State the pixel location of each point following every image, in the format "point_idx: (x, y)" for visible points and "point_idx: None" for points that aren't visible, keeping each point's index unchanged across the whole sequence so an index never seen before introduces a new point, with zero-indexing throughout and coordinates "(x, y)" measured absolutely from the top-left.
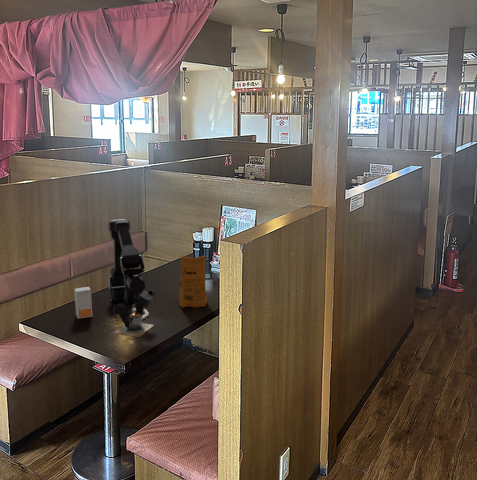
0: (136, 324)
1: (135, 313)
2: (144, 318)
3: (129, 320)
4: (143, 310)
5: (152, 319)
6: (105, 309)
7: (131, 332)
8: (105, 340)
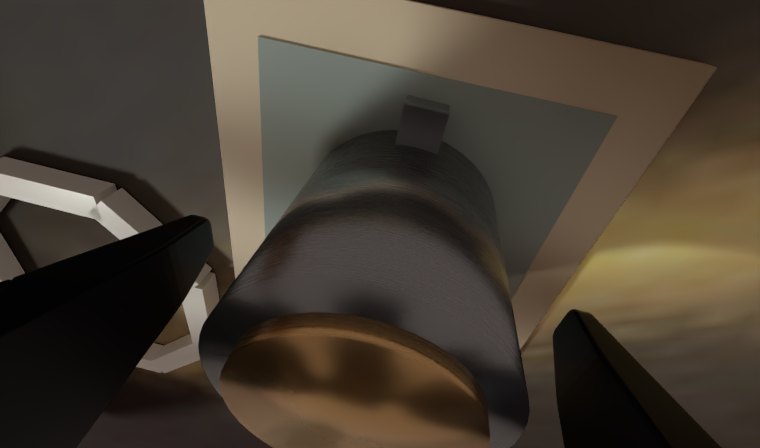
0: (488, 231)
1: (297, 401)
2: (95, 179)
3: (676, 443)
4: (29, 273)
5: (47, 71)
6: (153, 423)
7: (534, 224)
8: (684, 393)
